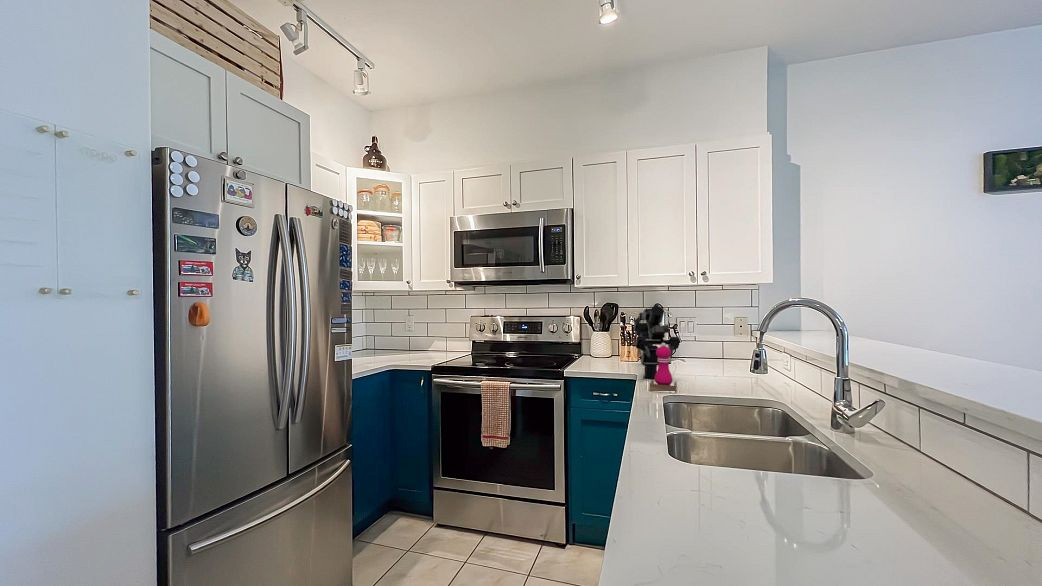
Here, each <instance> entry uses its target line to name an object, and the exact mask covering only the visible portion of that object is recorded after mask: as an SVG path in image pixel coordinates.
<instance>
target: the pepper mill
mask: <svg viewBox="0 0 1042 586" xmlns="http://www.w3.org/2000/svg"><path fill="white" fill-rule="evenodd" d="M656 355H657V356H658V358H657V359H658V360H657V361H658V364H659V365H658V366H657V372H656V374H655V379H654V383H655V384H657V385H670V386H672V383H673V376H672V373H671V371H670V367H669V366H670V365H669V364H670V361H671V360H670V359H671V358H670V355H671V350H670V349H669V346H667V345H666V344H665V343H662V344H661V345H660V346H659V347H658V348H657V350H656Z"/></svg>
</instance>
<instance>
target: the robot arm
mask: <svg viewBox="0 0 1042 586" xmlns="http://www.w3.org/2000/svg"><path fill="white" fill-rule="evenodd" d="M664 314H665V310H664V308H662V307H660V306H659V305H658V304H654V305H653V307H652V308H644V309H643V312H639V314H638V317H637V318H636V319H635V320H634V321H633V322H634V323H633V331H634V332H635V335H636V336H637V337H636V339H635V344H634V345H635V348H636V349H639V350H640V351H642V353H641V357H640V364H641V365H642V366H644V374H643V376H642V377H643V379H647V380H648V379H651V380H655V374H656V372H657V370H658V365H659V364H658V361H657V360H658V359H657V358H658V356H657V355H656V350H657V348H659V347H658V346H661V344H662V343H665V344H666V346H667V347H668V348H669V349H670V350H671V355H670V357H669V358H670V359H672V358H673V353H674V351H675V350H677V349H679V347H680V343H681V338H680V337H679V336H669V339H665V338H666V335H665V334H666V333H667V334H668V333H669V332H670V326H669V324H664V325H661V323H662V321H663V319H664ZM641 321H647V322H641Z"/></svg>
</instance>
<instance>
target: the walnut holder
mask: <svg viewBox="0 0 1042 586" xmlns="http://www.w3.org/2000/svg"><path fill="white" fill-rule="evenodd" d="M677 384H678V382H677V381H674V383H673V385H671V384H670V385H671V386H670V385H657V383H655V379H651V381H650V383H649V392H650V391H676V392H677V389H678V388H677V386H678V385H677ZM676 388H677V389H676Z"/></svg>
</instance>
